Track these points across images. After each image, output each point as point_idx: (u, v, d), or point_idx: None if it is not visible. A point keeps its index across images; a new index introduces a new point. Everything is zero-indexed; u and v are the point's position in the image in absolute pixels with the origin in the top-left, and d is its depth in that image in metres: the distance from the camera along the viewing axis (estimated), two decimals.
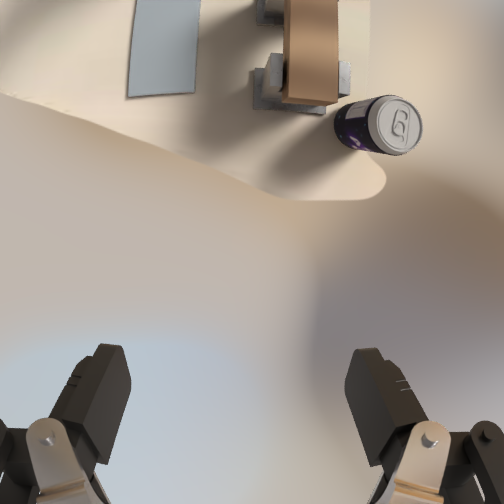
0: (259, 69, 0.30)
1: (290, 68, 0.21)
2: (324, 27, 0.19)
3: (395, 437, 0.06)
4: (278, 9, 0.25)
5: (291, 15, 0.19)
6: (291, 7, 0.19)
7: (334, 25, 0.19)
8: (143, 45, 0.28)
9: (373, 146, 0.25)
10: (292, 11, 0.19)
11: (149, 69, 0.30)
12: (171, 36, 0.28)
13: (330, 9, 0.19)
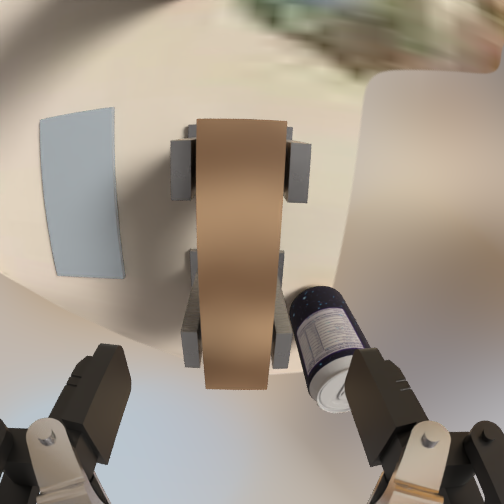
0: (195, 253, 0.27)
1: (204, 362, 0.18)
2: (252, 305, 0.16)
3: (395, 437, 0.06)
4: None
5: (200, 291, 0.16)
6: (199, 277, 0.16)
7: (269, 299, 0.16)
8: (58, 215, 0.25)
9: None
10: (201, 284, 0.16)
11: (71, 247, 0.26)
12: (85, 205, 0.25)
13: (265, 270, 0.16)
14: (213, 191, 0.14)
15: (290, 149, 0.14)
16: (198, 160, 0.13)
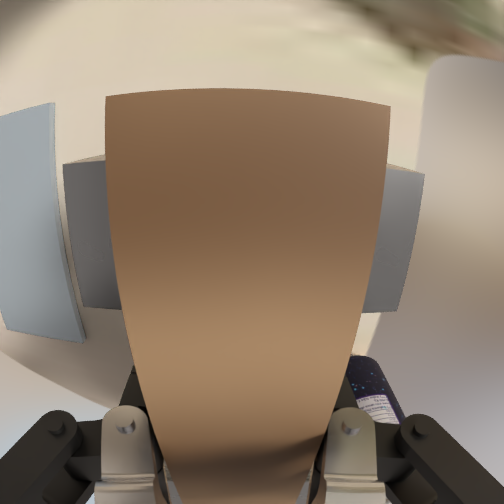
0: None
1: None
2: (267, 479, 0.07)
3: None
4: None
5: (169, 465, 0.07)
6: (163, 450, 0.06)
7: (298, 472, 0.07)
8: None
9: None
10: (169, 458, 0.07)
11: (16, 298, 0.17)
12: (24, 245, 0.16)
13: (295, 445, 0.06)
14: (167, 311, 0.05)
15: None
16: (117, 227, 0.04)
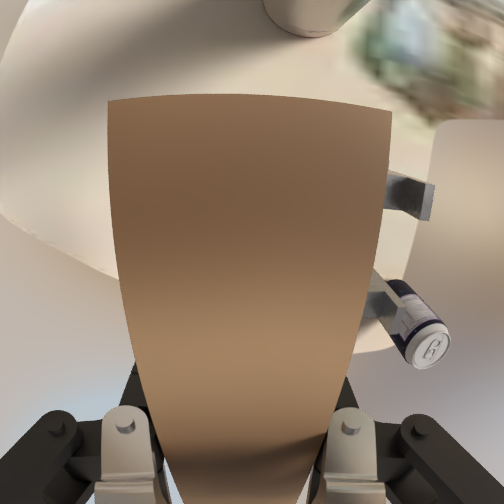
0: None
1: None
2: (268, 479, 0.07)
3: None
4: None
5: (170, 466, 0.07)
6: (165, 452, 0.06)
7: (299, 472, 0.07)
8: None
9: None
10: (171, 459, 0.07)
11: None
12: None
13: (296, 446, 0.06)
14: (170, 315, 0.05)
15: (424, 187, 0.21)
16: (119, 232, 0.04)
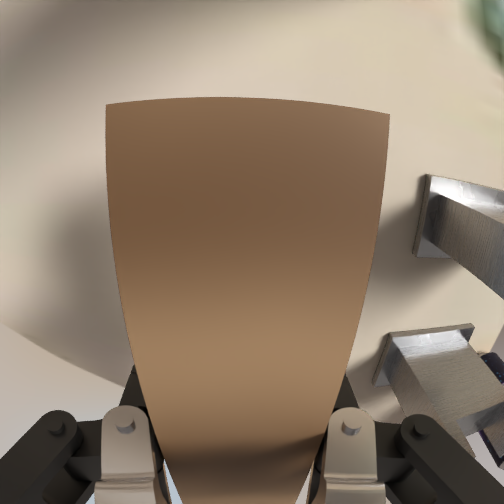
0: (398, 338, 0.19)
1: None
2: (267, 480, 0.07)
3: None
4: None
5: (169, 467, 0.07)
6: (164, 452, 0.06)
7: (298, 473, 0.07)
8: None
9: (495, 461, 0.14)
10: (170, 459, 0.07)
11: None
12: None
13: (295, 446, 0.06)
14: (168, 317, 0.05)
15: None
16: (118, 234, 0.04)
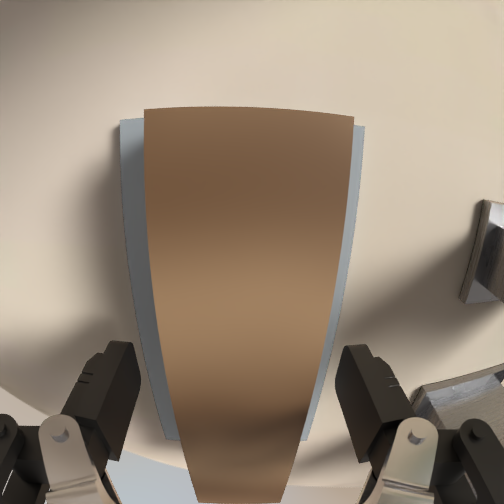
0: (431, 392, 0.14)
1: (194, 485, 0.10)
2: (265, 438, 0.09)
3: (383, 433, 0.07)
4: None
5: (178, 423, 0.08)
6: (175, 407, 0.08)
7: (293, 430, 0.09)
8: None
9: None
10: (179, 415, 0.08)
11: None
12: None
13: (289, 399, 0.08)
14: (186, 272, 0.06)
15: None
16: (151, 206, 0.06)
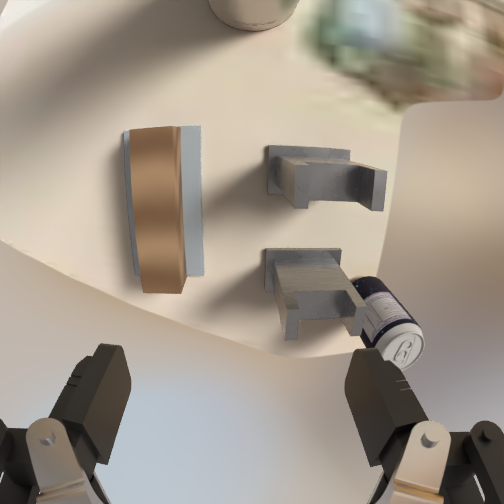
0: (271, 251, 0.33)
1: (140, 271, 0.29)
2: (163, 229, 0.28)
3: (395, 437, 0.06)
4: None
5: (135, 222, 0.27)
6: (134, 213, 0.27)
7: (172, 225, 0.28)
8: None
9: None
10: (135, 217, 0.27)
11: None
12: None
13: (167, 207, 0.27)
14: (138, 165, 0.25)
15: (373, 174, 0.20)
16: (130, 150, 0.25)
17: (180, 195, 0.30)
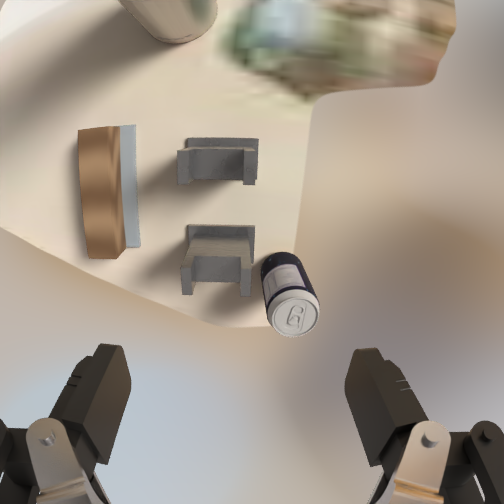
0: (192, 227, 0.39)
1: (86, 240, 0.34)
2: (101, 206, 0.33)
3: (395, 437, 0.06)
4: None
5: (81, 200, 0.32)
6: (81, 194, 0.32)
7: (107, 203, 0.33)
8: None
9: None
10: (82, 197, 0.32)
11: None
12: None
13: (104, 189, 0.32)
14: (84, 157, 0.31)
15: (244, 154, 0.26)
16: (79, 146, 0.30)
17: (118, 180, 0.35)
